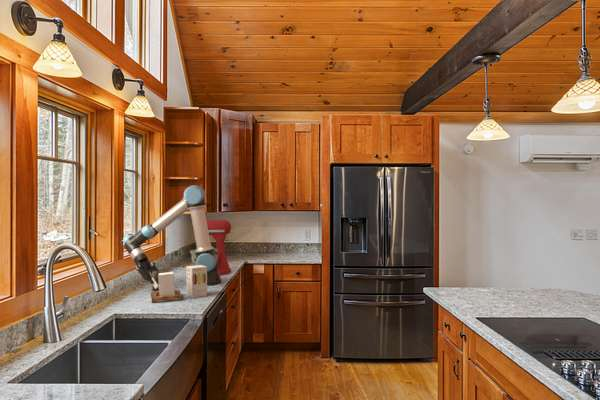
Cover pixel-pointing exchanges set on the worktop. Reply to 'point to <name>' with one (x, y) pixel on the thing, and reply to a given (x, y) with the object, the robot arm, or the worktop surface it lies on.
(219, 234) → the stand mixer
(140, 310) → the worktop surface
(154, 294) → the brown wooden frame
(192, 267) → the supplement box
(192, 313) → the worktop surface
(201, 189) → the robot arm
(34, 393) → the worktop surface
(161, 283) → the skincare box
